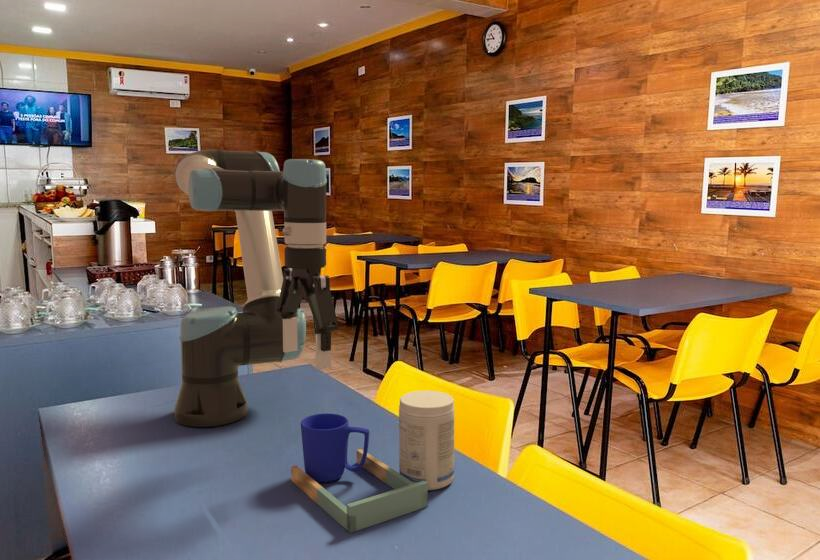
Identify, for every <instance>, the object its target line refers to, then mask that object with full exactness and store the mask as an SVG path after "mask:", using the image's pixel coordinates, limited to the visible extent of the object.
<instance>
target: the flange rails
mask: <svg viewBox="0 0 820 560" xmlns="http://www.w3.org/2000/svg"><path fill="white" fill-rule="evenodd" d="M363 450H364V449H362V448H359V449H356V464H357V465H359V464H360V462H361V460H362V456H363ZM362 468H363V469H365V470H366V471H367V472H369V473H370V474H372V475H373V476H374V477H376V478H377V479H378V480H381V481H382V482H383V483H385V484H386V469H390V468H391V467H390V466H389V465H387V464H386V463H384V462H382V461H381V460H379V459H377V458H376V456H373V455H371V454H370V453H368V452H367V457H366V460H365V463H364V465H363V466H362ZM290 481H291V482H292V483H293V484H294V485H296V486H297V487H298V488H299V489H300V490H301V491H302V492H303V493H305V494H306V495H307V496H308V497H309V499H311V500H312V501H314V502H315V503H316V504H317V489H319V488H324V487H323V486H322V485H321V484H320V483H319V482H316V481H315V480H313V479H312V478H311V477H310V476H309V475H307V474H306V473H305V470H302V469H301V468H300V467H299V466H298V465H292V466H291V467H290Z"/></svg>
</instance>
